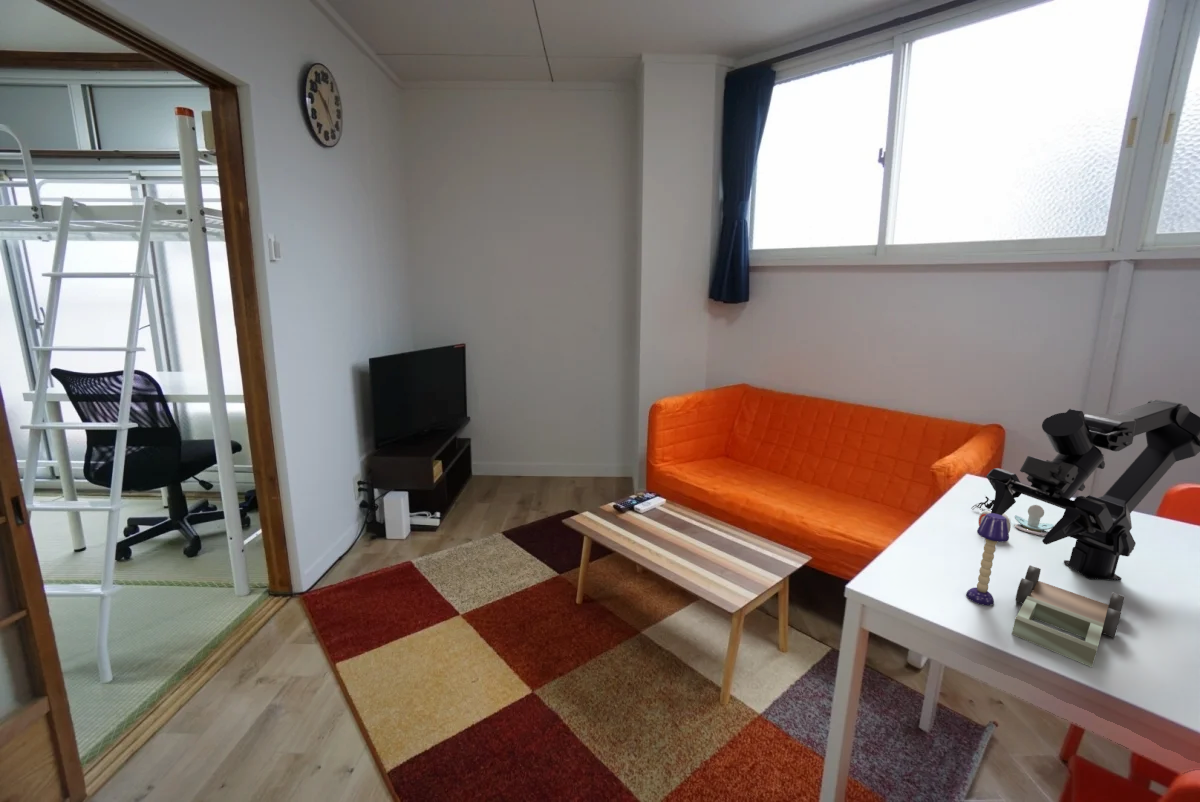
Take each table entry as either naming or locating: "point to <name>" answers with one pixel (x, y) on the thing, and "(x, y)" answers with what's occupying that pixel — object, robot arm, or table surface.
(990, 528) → the toy lamp
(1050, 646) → the chassis
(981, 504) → the creature
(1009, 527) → the roller toy
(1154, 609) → the table surface
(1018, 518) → the pacifier
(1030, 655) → the table surface
